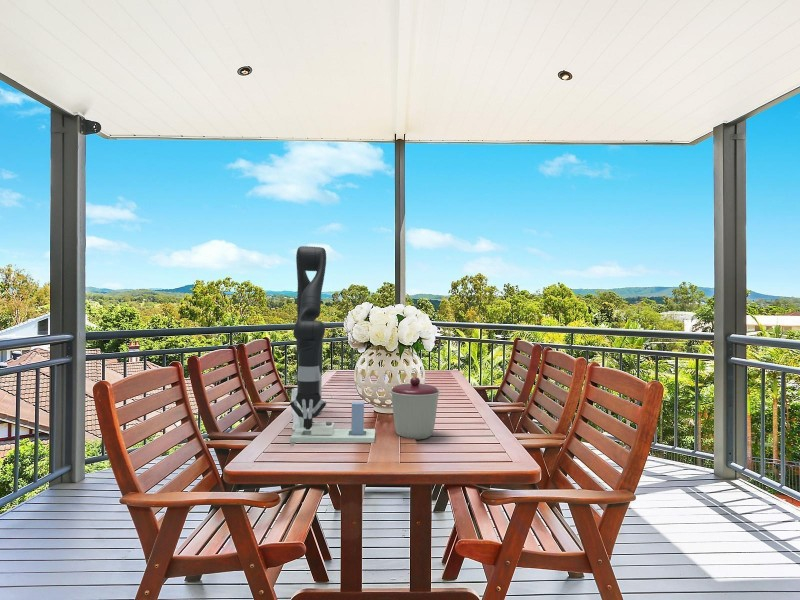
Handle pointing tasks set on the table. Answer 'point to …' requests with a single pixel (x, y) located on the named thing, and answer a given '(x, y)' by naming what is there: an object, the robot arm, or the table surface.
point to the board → (332, 436)
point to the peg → (357, 419)
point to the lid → (322, 428)
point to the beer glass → (297, 421)
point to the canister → (414, 409)
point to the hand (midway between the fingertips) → (307, 429)
